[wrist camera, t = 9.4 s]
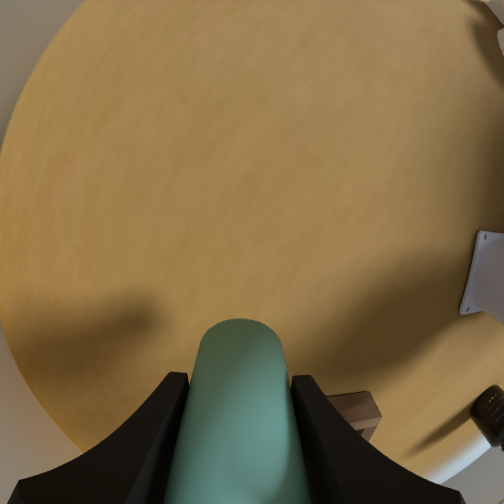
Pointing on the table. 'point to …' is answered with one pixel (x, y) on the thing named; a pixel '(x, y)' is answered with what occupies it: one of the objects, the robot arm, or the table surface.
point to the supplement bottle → (490, 415)
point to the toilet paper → (500, 5)
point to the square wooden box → (358, 412)
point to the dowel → (238, 424)
